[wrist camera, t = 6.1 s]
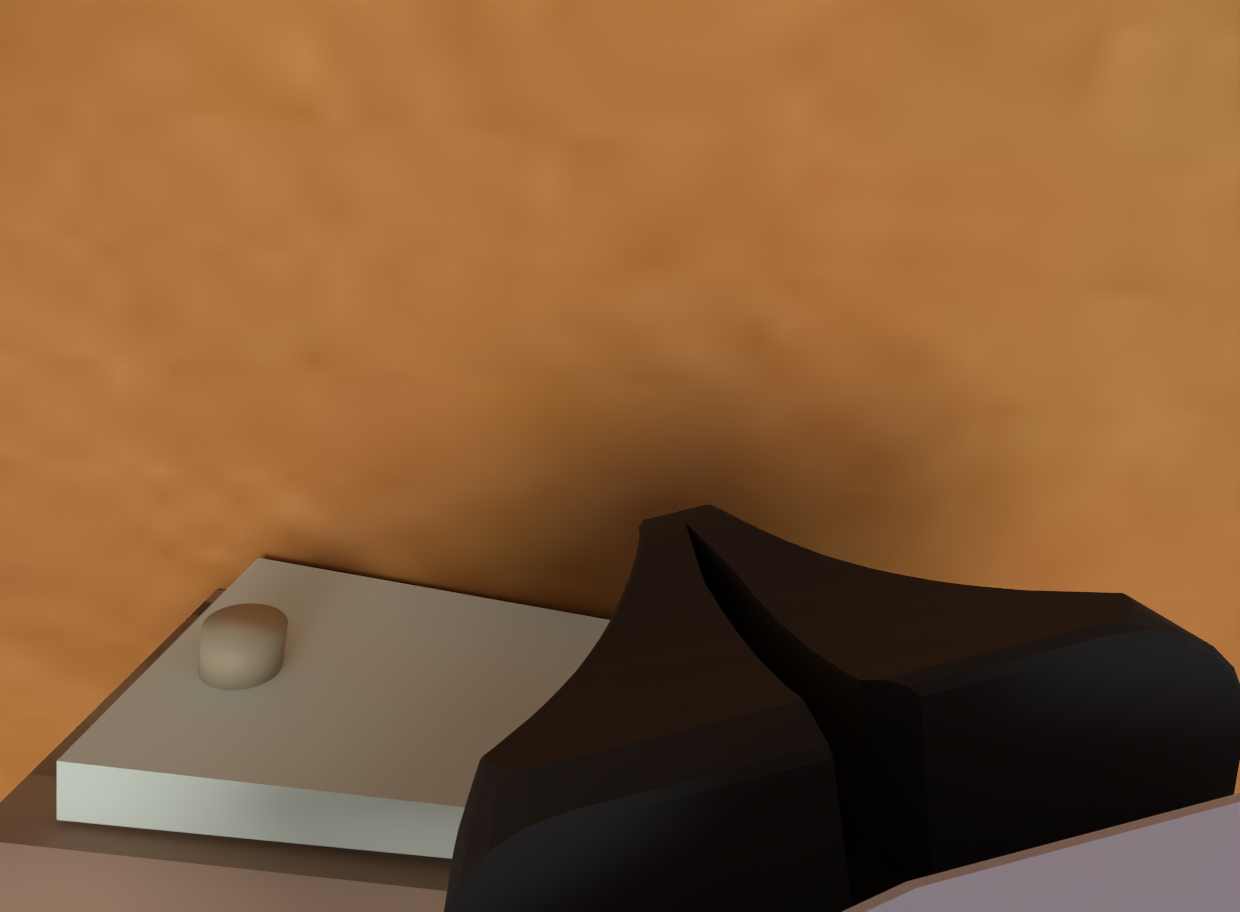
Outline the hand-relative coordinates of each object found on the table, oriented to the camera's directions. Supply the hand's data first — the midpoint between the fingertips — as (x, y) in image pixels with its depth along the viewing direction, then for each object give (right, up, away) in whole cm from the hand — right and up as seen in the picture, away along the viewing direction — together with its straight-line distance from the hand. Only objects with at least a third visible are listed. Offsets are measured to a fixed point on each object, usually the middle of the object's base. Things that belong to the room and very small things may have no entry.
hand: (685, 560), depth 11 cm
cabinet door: (-2, -2, +3) cm, 4 cm away
